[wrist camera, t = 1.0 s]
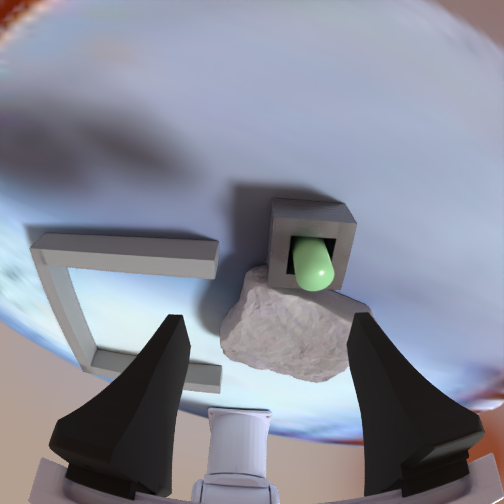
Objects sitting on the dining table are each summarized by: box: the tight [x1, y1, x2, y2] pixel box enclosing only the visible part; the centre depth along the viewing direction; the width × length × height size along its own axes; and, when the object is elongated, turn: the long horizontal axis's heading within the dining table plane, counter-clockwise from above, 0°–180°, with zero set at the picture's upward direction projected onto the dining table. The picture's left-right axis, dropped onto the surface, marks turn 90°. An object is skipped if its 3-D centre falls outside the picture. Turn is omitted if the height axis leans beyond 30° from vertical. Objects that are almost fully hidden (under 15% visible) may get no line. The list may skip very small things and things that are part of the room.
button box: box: [267, 198, 357, 290], centre depth 20 cm, size 5×5×3 cm
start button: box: [290, 236, 334, 291], centre depth 19 cm, size 2×2×4 cm
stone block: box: [220, 265, 376, 383], centre depth 25 cm, size 12×5×10 cm
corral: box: [30, 233, 222, 394], centre depth 25 cm, size 16×16×2 cm
